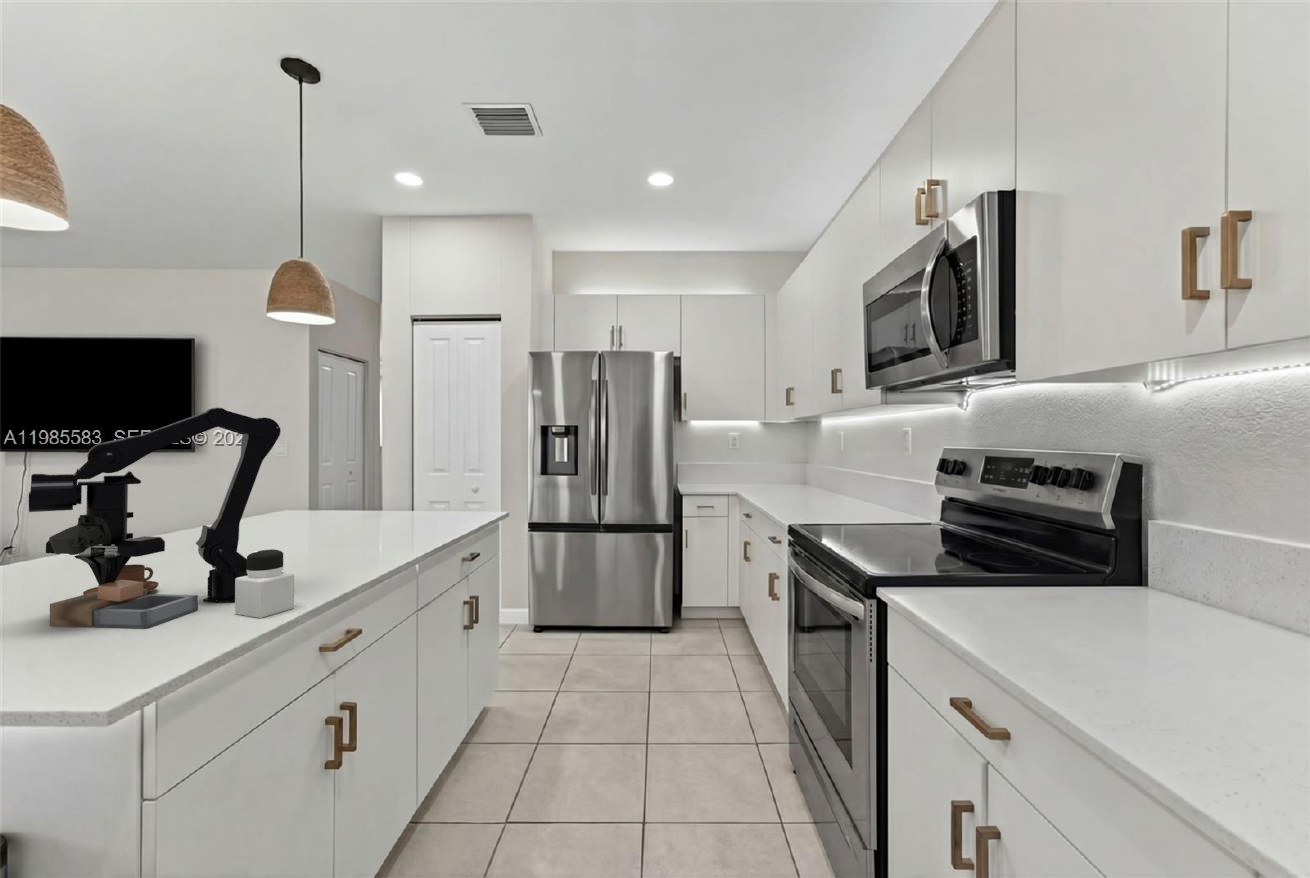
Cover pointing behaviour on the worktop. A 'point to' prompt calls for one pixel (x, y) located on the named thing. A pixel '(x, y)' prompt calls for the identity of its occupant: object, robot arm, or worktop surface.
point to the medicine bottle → (264, 586)
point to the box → (145, 611)
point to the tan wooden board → (80, 610)
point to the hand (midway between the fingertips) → (105, 590)
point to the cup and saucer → (133, 577)
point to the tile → (120, 590)
